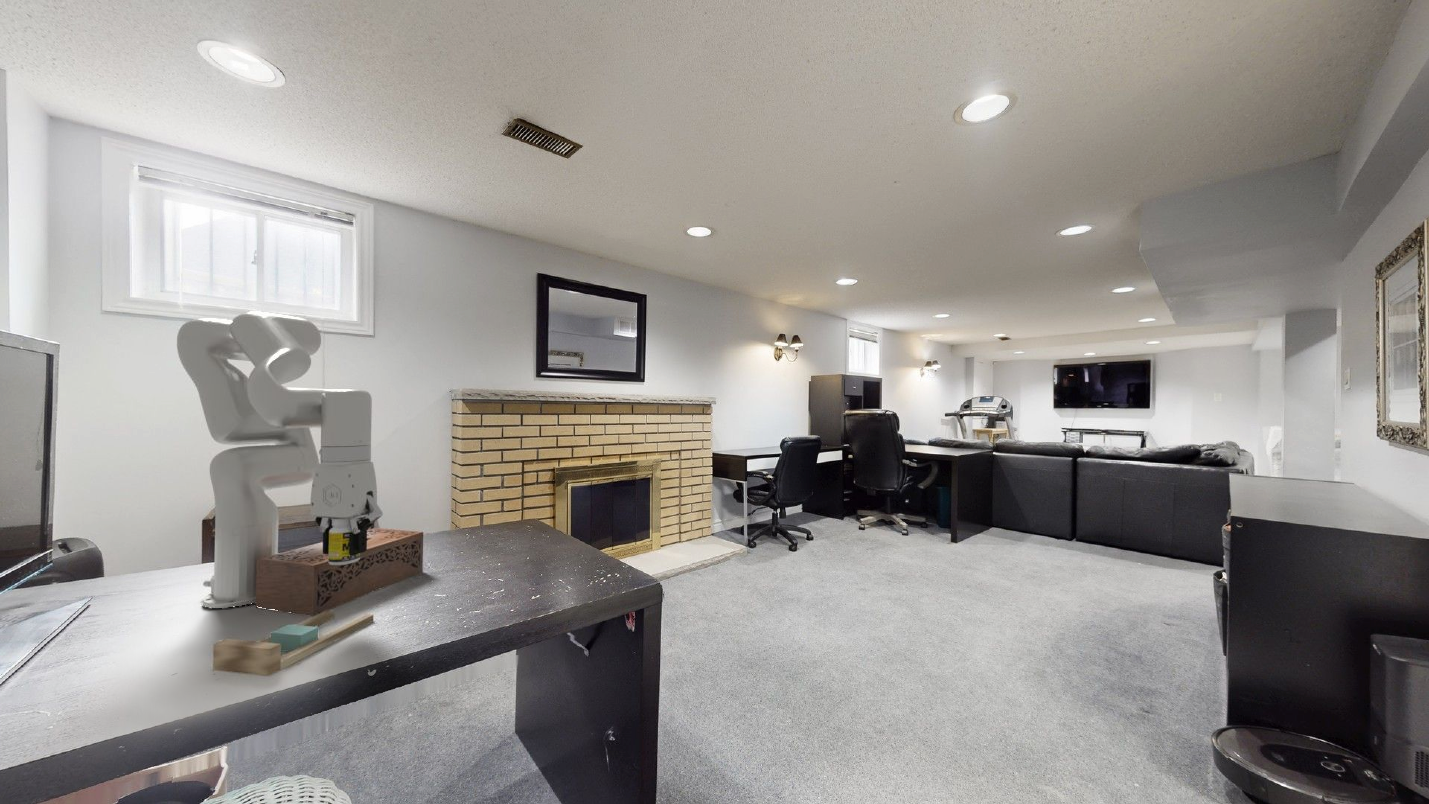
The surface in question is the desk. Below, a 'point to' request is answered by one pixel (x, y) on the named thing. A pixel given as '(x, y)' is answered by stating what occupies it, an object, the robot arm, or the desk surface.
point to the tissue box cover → (336, 573)
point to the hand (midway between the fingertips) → (344, 551)
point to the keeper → (293, 636)
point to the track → (276, 648)
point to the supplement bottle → (340, 542)
